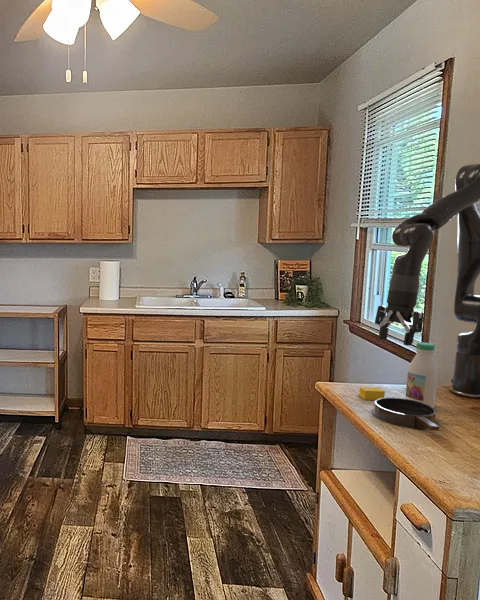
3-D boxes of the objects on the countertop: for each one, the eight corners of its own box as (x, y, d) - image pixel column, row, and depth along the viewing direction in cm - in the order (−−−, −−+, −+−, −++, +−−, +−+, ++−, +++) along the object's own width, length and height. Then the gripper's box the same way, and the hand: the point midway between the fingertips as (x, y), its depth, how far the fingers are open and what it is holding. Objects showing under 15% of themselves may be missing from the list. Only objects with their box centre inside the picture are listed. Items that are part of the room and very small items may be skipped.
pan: (415, 408, 153) (416, 398, 153) (447, 428, 138) (448, 416, 138) (364, 407, 154) (365, 396, 154) (390, 427, 139) (391, 415, 139)
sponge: (377, 396, 165) (378, 387, 164) (384, 400, 161) (384, 391, 161) (359, 395, 165) (359, 386, 165) (364, 399, 161) (365, 390, 161)
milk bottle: (425, 401, 159) (431, 341, 156) (440, 410, 152) (446, 346, 149) (399, 401, 160) (405, 340, 157) (413, 409, 152) (419, 346, 149)
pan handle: (414, 427, 139) (416, 416, 138) (422, 428, 139) (423, 416, 138) (430, 438, 132) (431, 426, 132) (438, 438, 132) (439, 426, 131)
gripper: (435, 293, 144) (425, 347, 146) (392, 288, 158) (384, 338, 160) (415, 291, 142) (405, 346, 144) (373, 286, 156) (365, 337, 158)
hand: (394, 342), depth 152 cm, fingers open, 8 cm apart
